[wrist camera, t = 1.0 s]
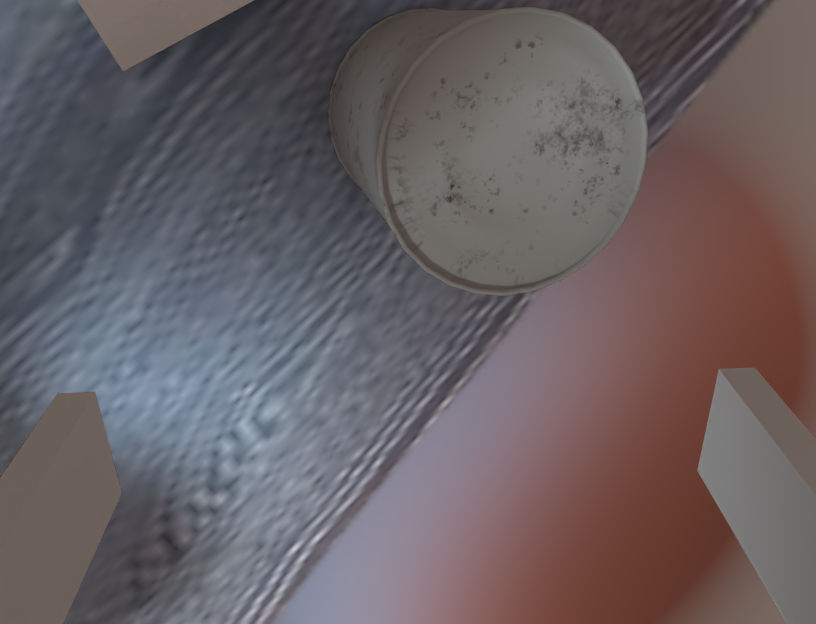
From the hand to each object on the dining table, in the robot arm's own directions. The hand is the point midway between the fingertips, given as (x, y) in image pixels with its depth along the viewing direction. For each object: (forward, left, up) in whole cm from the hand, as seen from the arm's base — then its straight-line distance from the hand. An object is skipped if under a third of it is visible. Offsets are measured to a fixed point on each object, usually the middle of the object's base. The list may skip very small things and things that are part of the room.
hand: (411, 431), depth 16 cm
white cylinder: (+7, +1, -22) cm, 23 cm away
